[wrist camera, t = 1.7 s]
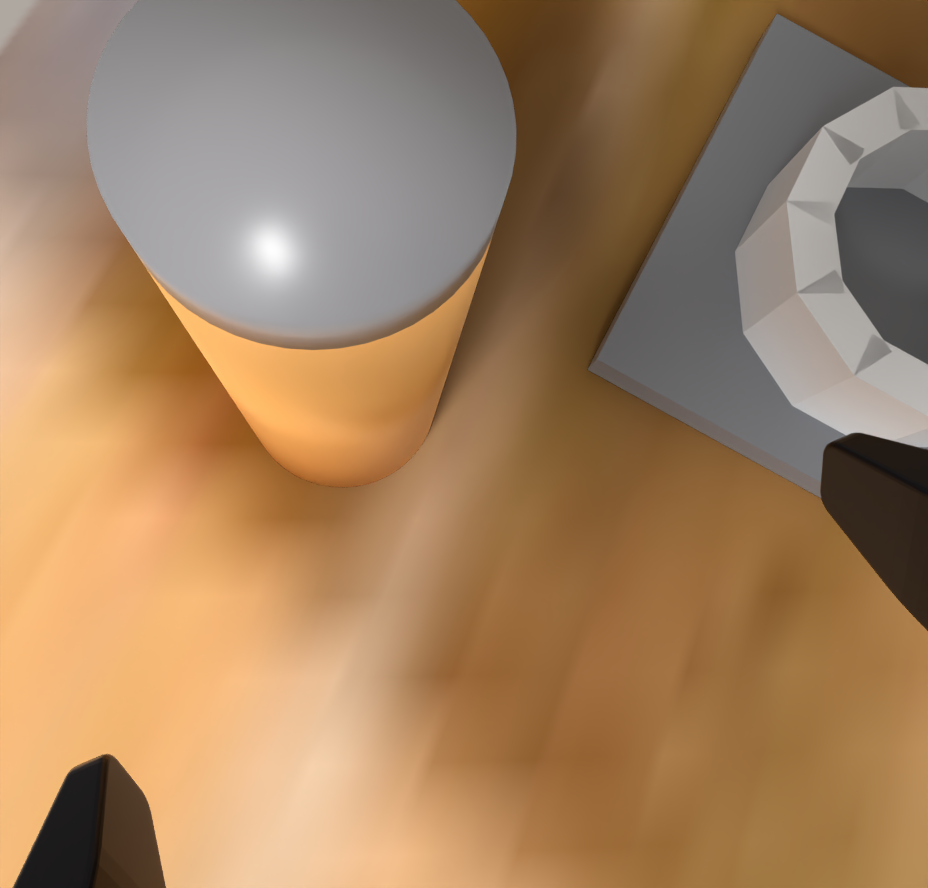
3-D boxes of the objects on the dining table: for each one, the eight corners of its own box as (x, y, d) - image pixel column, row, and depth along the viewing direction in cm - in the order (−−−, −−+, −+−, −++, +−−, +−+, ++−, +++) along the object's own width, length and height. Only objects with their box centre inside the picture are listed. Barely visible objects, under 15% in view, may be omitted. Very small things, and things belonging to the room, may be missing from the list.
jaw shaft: (467, 362, 23) (585, 63, 10) (379, 521, 22) (389, 401, 9) (309, 275, 23) (234, -130, 10) (211, 429, 22) (-4, 185, 9)
